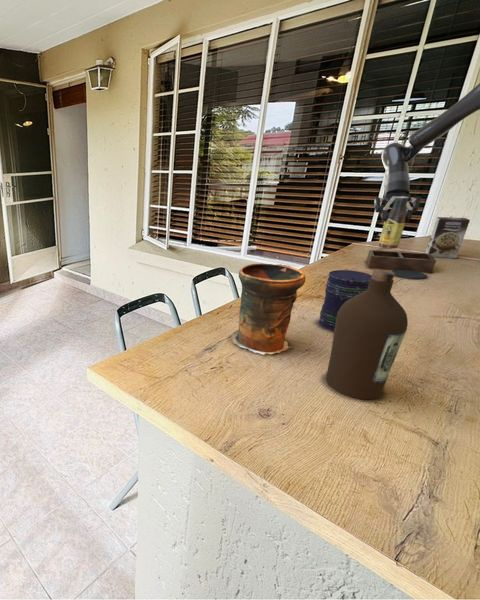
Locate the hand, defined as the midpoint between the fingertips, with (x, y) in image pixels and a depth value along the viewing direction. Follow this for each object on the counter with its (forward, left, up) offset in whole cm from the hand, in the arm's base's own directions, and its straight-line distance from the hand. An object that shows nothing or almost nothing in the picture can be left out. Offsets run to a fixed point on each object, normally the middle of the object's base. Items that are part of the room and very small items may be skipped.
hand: (396, 220), depth 135 cm
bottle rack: (-4, -2, -19) cm, 19 cm away
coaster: (-6, +9, -19) cm, 22 cm away
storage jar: (+16, +69, -19) cm, 74 cm away
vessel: (+33, +89, -19) cm, 97 cm away
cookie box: (-21, -27, -19) cm, 39 cm away
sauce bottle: (0, -2, -12) cm, 12 cm away
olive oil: (+14, +100, -19) cm, 103 cm away
